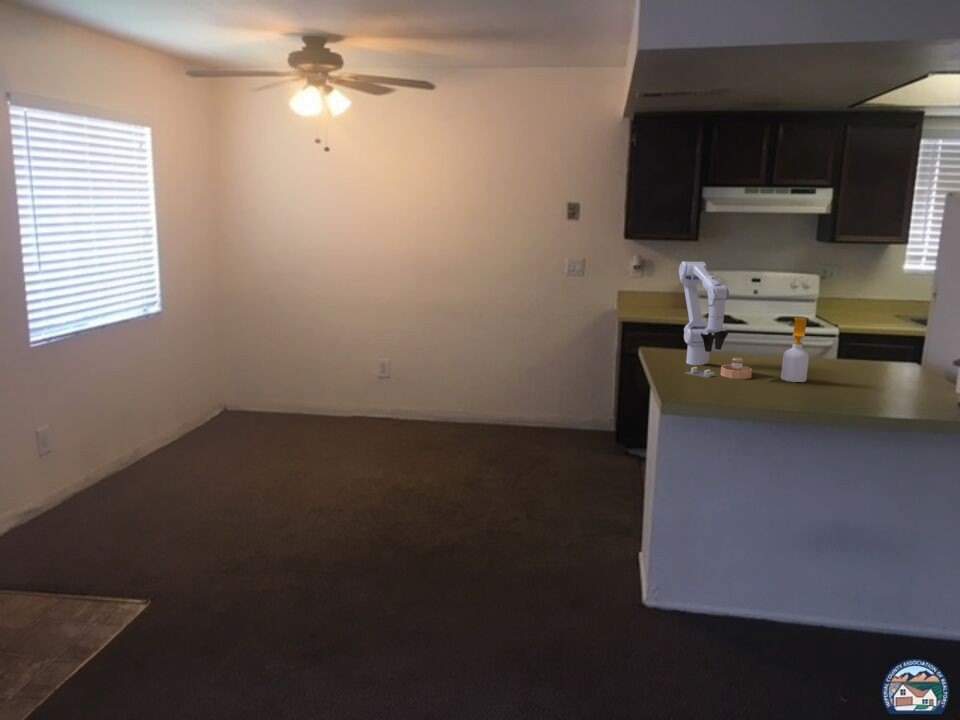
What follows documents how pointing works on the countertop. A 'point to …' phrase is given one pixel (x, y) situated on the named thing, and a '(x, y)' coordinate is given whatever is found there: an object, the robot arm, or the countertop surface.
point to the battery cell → (736, 364)
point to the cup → (736, 372)
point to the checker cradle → (701, 373)
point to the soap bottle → (796, 356)
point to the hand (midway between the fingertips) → (713, 350)
